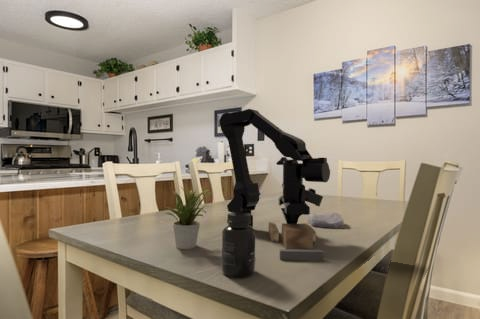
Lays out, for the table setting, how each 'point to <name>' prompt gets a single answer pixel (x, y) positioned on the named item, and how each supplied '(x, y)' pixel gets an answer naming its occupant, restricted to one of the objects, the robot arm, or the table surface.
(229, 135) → the robot arm
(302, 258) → the bar
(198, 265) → the table surface
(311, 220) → the stone block
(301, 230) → the walnut block
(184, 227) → the house plant
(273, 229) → the oak chute
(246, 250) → the supplement bottle
